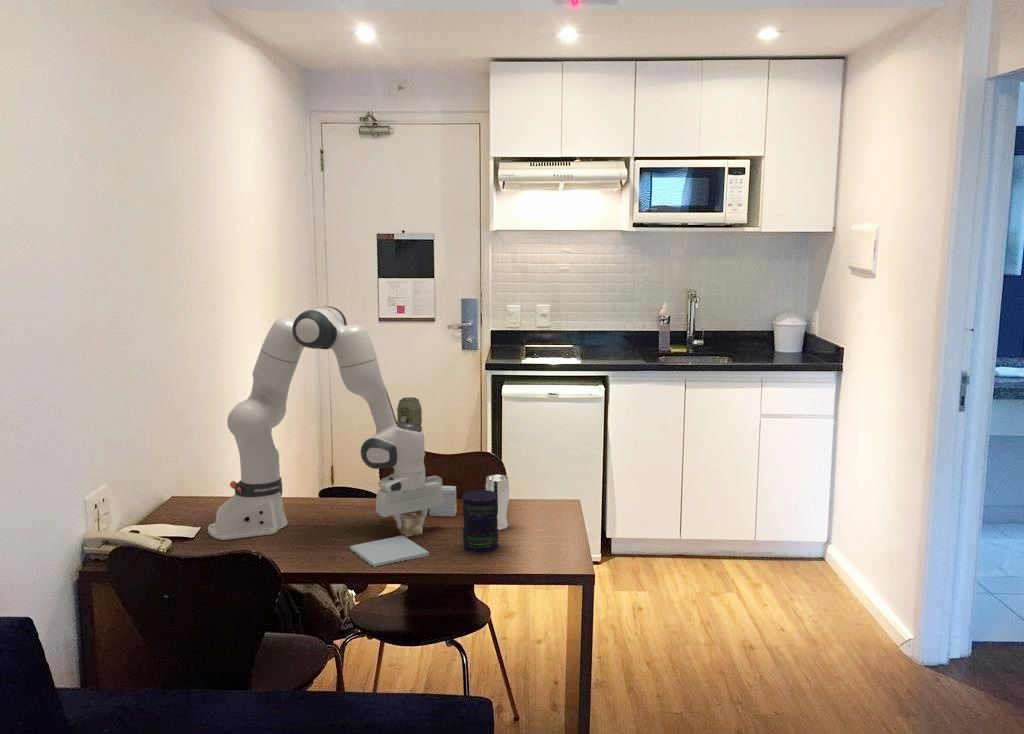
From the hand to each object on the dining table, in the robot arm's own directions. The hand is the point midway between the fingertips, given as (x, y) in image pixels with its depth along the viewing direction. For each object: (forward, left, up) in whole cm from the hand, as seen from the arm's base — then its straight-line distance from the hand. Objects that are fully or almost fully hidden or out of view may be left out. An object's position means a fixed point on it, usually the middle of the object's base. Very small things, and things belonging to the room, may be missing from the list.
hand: (410, 526), depth 255 cm
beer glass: (+24, -9, -2) cm, 26 cm away
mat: (-12, -11, -2) cm, 16 cm away
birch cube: (0, 0, -2) cm, 2 cm away
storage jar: (+11, -21, -2) cm, 24 cm away
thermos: (+11, +22, -2) cm, 25 cm away
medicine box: (+16, +10, -2) cm, 19 cm away
